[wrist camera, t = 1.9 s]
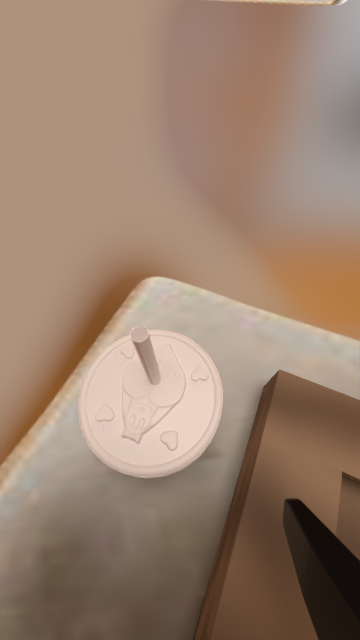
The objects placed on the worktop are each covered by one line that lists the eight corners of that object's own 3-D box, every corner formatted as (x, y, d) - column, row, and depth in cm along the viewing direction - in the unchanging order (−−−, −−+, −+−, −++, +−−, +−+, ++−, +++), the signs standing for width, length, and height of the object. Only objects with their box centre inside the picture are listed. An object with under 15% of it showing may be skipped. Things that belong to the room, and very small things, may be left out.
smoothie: (217, 399, 20) (263, 293, 8) (193, 491, 17) (208, 538, 5) (144, 374, 21) (89, 250, 9) (109, 455, 18) (-42, 425, 6)
